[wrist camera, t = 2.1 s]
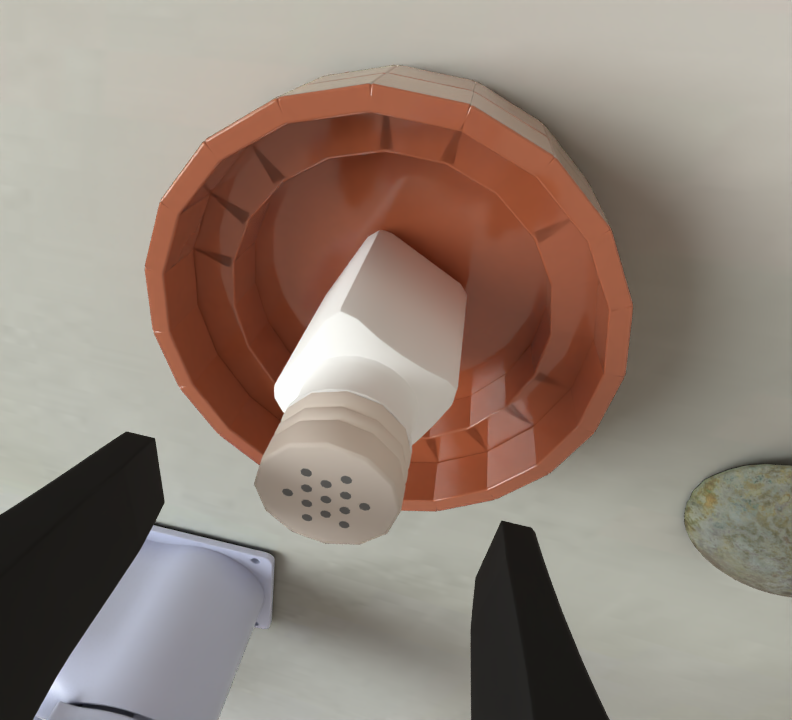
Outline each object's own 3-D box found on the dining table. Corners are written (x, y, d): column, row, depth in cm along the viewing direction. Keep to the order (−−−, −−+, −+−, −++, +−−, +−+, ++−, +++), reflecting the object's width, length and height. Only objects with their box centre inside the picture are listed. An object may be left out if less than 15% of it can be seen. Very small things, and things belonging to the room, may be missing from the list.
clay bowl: (216, 393, 23) (168, 460, 20) (198, 20, 15) (111, 28, 12) (528, 465, 23) (533, 547, 20) (685, 122, 15) (741, 161, 11)
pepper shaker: (408, 357, 20) (354, 579, 13) (321, 299, 19) (206, 498, 12) (475, 286, 18) (459, 500, 10) (381, 216, 17) (288, 394, 10)
